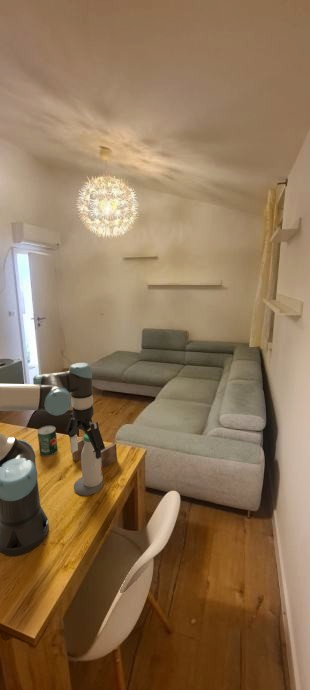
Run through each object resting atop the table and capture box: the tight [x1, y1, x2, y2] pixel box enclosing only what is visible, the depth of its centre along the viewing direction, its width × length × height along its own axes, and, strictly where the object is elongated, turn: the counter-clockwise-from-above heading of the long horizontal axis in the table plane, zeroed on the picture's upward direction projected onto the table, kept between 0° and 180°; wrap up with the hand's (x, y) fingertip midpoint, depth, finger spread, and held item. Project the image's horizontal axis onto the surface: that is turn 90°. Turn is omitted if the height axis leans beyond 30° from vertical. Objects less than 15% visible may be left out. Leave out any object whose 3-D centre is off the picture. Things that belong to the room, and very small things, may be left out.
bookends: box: [71, 436, 118, 471], centre depth 130 cm, size 12×16×8 cm
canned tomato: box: [37, 425, 59, 457], centre depth 136 cm, size 8×8×11 cm
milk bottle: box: [80, 433, 104, 487], centre depth 114 cm, size 8×8×20 cm
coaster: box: [73, 476, 104, 497], centre depth 115 cm, size 11×11×1 cm
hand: (85, 458), depth 112 cm, fingers open, 13 cm apart
